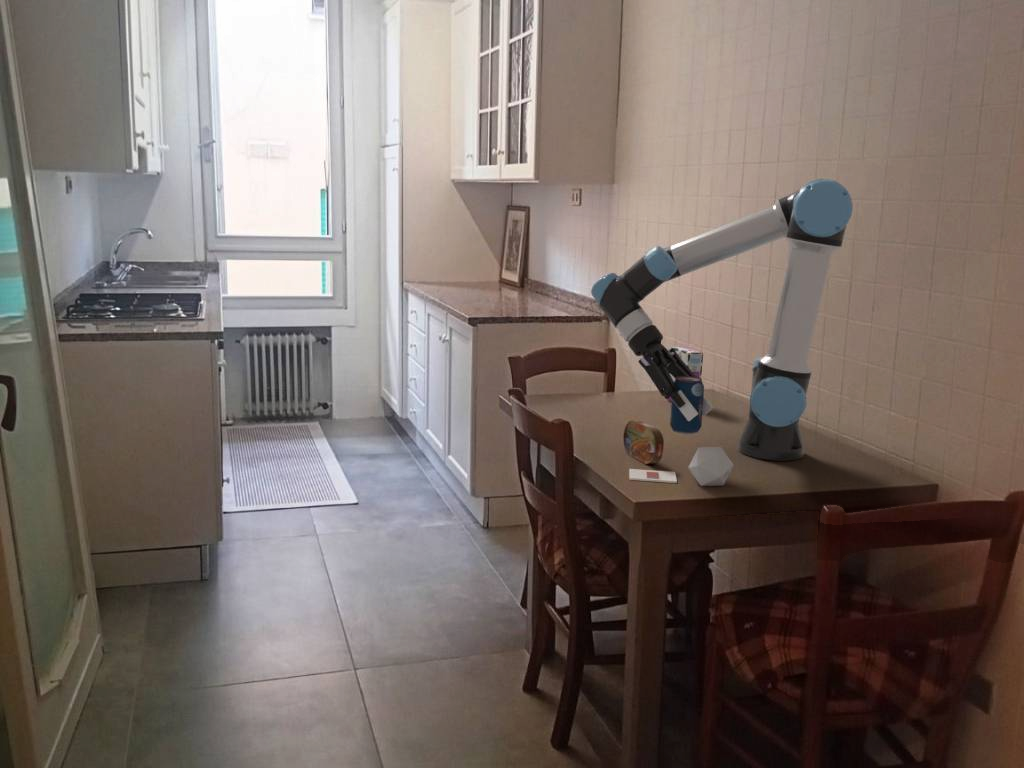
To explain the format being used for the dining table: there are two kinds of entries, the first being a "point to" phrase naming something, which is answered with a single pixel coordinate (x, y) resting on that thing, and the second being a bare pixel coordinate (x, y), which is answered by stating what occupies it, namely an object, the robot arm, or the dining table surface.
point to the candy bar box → (690, 361)
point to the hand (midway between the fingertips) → (701, 414)
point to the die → (710, 466)
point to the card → (652, 475)
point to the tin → (643, 442)
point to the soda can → (694, 394)
